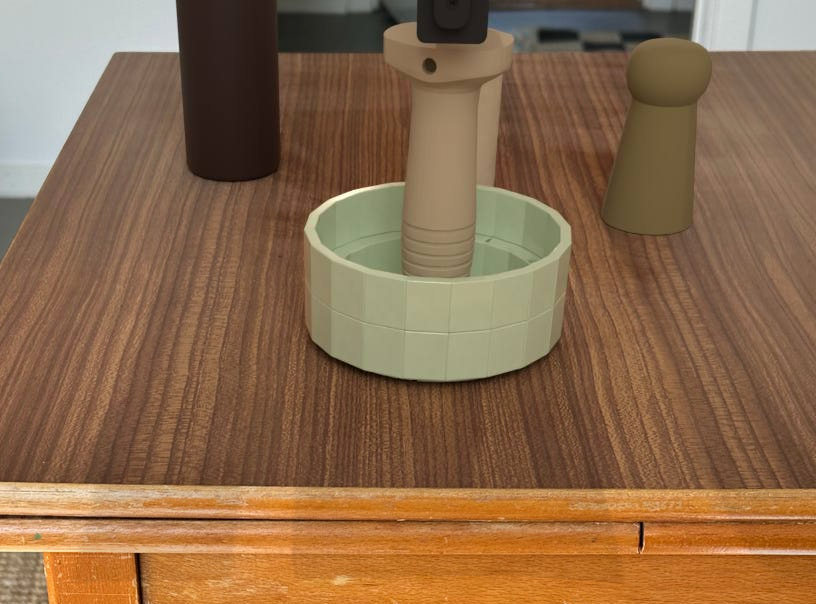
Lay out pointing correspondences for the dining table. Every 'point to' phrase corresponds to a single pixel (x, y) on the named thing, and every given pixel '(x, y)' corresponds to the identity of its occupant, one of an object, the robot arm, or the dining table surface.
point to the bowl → (435, 288)
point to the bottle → (230, 87)
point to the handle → (442, 145)
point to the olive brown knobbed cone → (658, 139)
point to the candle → (488, 130)
